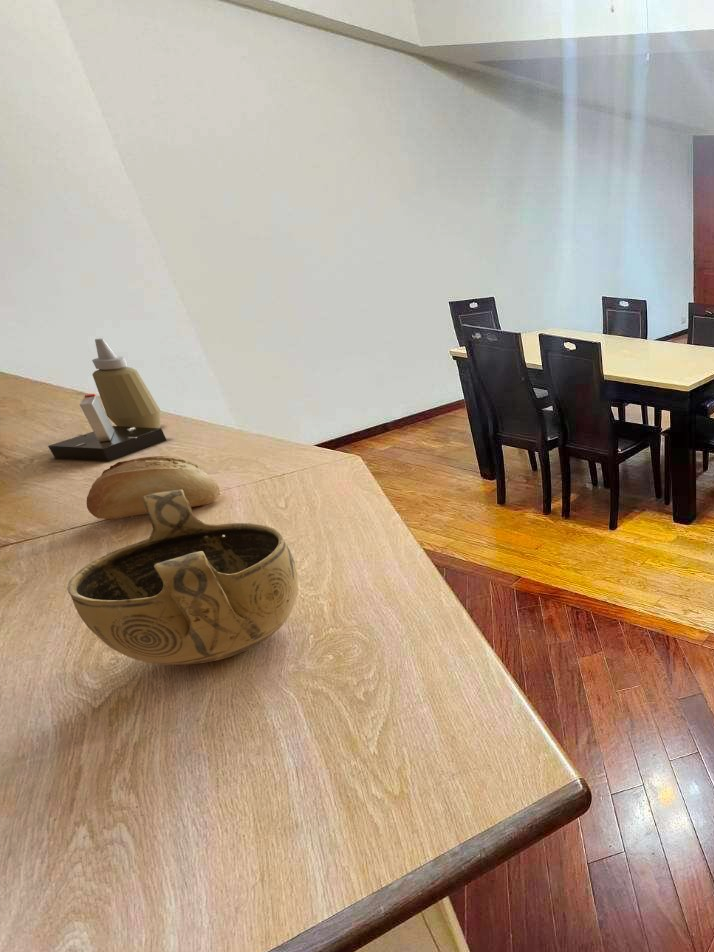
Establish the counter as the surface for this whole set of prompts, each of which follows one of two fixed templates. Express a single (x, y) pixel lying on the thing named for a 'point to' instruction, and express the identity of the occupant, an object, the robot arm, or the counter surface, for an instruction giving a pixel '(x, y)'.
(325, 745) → the counter surface
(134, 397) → the squeeze bottle
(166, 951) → the counter surface
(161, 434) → the panel
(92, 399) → the red-tipped white tile
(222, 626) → the ceramic bowl
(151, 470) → the bread roll
